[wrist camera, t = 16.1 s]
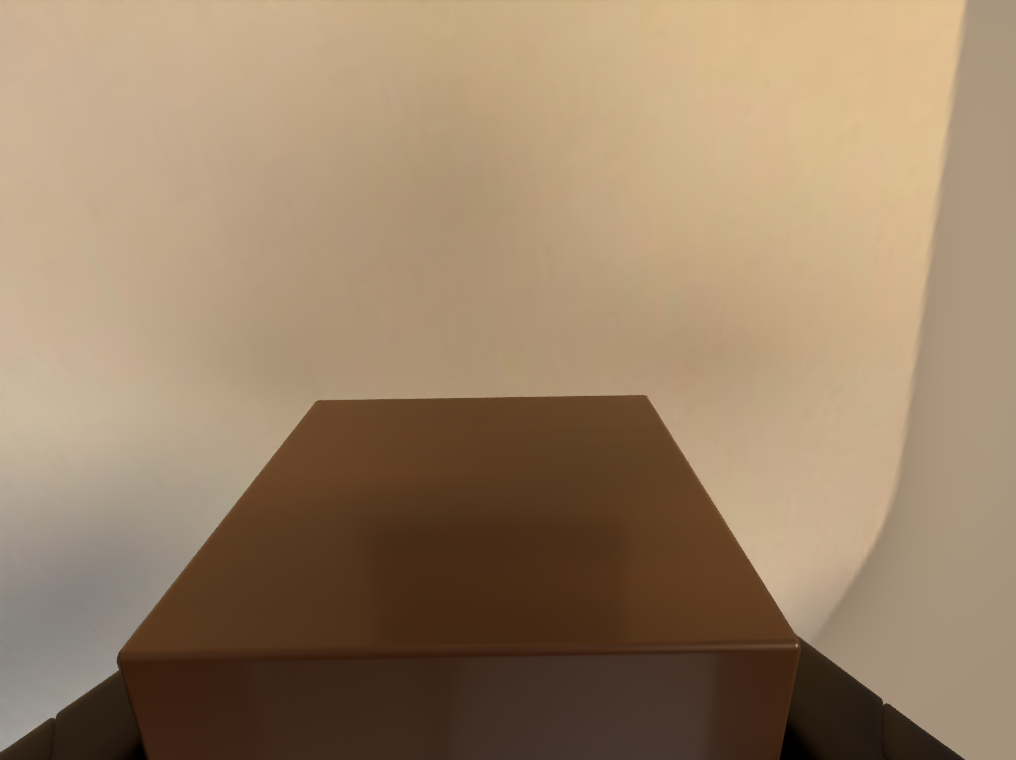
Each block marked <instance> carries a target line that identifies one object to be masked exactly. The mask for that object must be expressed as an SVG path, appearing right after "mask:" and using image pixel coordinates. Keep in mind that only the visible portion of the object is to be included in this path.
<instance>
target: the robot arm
mask: <svg viewBox="0 0 1016 760" xmlns="http://www.w3.org/2000/svg"><path fill="white" fill-rule="evenodd" d="M795 635H796V634H795ZM796 636H797V635H796ZM797 638H798V639H799V642H800V645H801V652H800V657H799V662H798V667H797V672H796V677H795V682H794V688H793V693H792V698H791V703H790V708H789V713H788V718H787V723H786V729H785V734H784V739H783V744H782V749H781V754H780V759H779V760H965V759H963V758H962V757H961V756H959V755H958V754H956V753H955V752H954V751H952V750H951V749H949V748H948V747H947V746H945V745H944V744H942V743H941V742H940V741H938V740H937V739H936V738H934V737H933V736H931V735H930V734H929V733H927V732H926V731H925V730H923V729H922V728H920V727H919V726H918V725H916V724H915V723H914V722H912V721H911V720H910V719H908V718H907V717H906V716H904V715H903V714H902V713H900V712H899V711H897V710H896V709H895V708H894V707H892V706H891V705H890V704H884V705H883V701H882V699H881V698H880V697H878V696H877V695H876V694H875V693H873V692H872V691H871V690H869V689H868V688H867V687H865V686H864V685H863V684H861V683H860V682H859V681H857V680H856V679H855V678H853V677H852V676H851V675H849V674H848V673H847V672H845V671H844V670H842V669H841V668H840V667H838V666H837V665H836V664H835V663H833V662H832V661H831V660H829V659H828V658H827V657H825V656H824V655H822V654H821V653H820V652H819V651H817V650H816V649H815V648H813V647H812V646H811V645H809V644H808V643H807V642H805V641H804V640H803V639H801V638H800V637H799V636H797ZM0 760H146V756H145V753H144V750H143V746H142V743H141V740H140V737H139V733H138V730H137V727H136V723H135V720H134V717H133V714H132V710H131V707H130V704H129V700H128V697H127V694H126V691H125V687H124V684H123V681H122V677H121V674H120V671H117V672H116V673H114V674H113V675H112V676H110V677H109V678H107V679H106V680H104V681H103V682H102V683H100V684H99V685H97V686H96V687H94V688H93V689H91V690H90V691H89V692H87V693H86V694H84V695H83V696H81V697H80V698H79V699H77V700H76V701H74V702H73V703H71V704H70V705H69V706H67V707H66V708H64V709H63V710H61V711H60V712H59V713H58V714H57V716H56V719H55V718H50V719H48V720H47V721H45V722H44V723H43V724H41V725H40V726H38V727H37V728H35V729H34V730H32V731H31V732H30V733H28V734H27V735H25V736H24V737H22V738H21V739H20V740H18V741H17V742H15V743H14V744H12V745H11V746H9V747H8V748H6V749H5V750H3V751H2V752H0Z"/></svg>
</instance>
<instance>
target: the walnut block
mask: <svg viewBox="0 0 1016 760" xmlns="http://www.w3.org/2000/svg"><path fill="white" fill-rule="evenodd" d="M800 652H801V645H800V642H799V639H798V638H797V636H796V635H795V633H794V631H793V630H792V628H791V627H790V625H789V623H788V622H787V620H786V619H785V617H784V615H783V614H782V612H781V611H780V609H779V607H778V606H777V604H776V603H775V601H774V599H773V598H772V596H771V595H770V593H769V591H768V590H767V588H766V587H765V585H764V583H763V582H762V580H761V578H760V577H759V575H758V574H757V572H756V570H755V569H754V567H753V566H752V564H751V562H750V561H749V559H748V558H747V556H746V554H745V553H744V551H743V550H742V548H741V546H740V545H739V543H738V542H737V540H736V538H735V537H734V535H733V534H732V532H731V530H730V529H729V527H728V526H727V524H726V522H725V521H724V519H723V518H722V516H721V514H720V513H719V511H718V509H717V508H716V506H715V505H714V503H713V501H712V500H711V498H710V497H709V495H708V493H707V492H706V490H705V489H704V487H703V485H702V484H701V482H700V481H699V479H698V477H697V476H696V474H695V473H694V471H693V469H692V468H691V466H690V465H689V463H688V461H687V460H686V458H685V457H684V455H683V453H682V452H681V450H680V449H679V447H678V445H677V444H676V442H675V440H674V439H673V437H672V436H671V434H670V432H669V431H668V429H667V428H666V426H665V424H664V423H663V421H662V420H661V418H660V416H659V415H658V413H657V412H656V410H655V408H654V407H653V405H652V404H651V402H650V400H649V399H648V397H647V396H645V395H625V396H563V397H501V398H439V399H377V400H319V401H316V402H315V403H314V405H313V406H312V407H311V408H310V410H309V411H308V412H307V414H306V415H305V416H304V417H303V419H302V420H301V421H300V422H299V424H298V425H297V426H296V428H295V429H294V430H293V431H292V433H291V434H290V435H289V436H288V438H287V439H286V440H285V442H284V443H283V444H282V445H281V447H280V448H279V449H278V450H277V452H276V453H275V454H274V456H273V457H272V458H271V459H270V461H269V462H268V463H267V464H266V466H265V467H264V468H263V470H262V471H261V472H260V473H259V475H258V476H257V477H256V478H255V480H254V481H253V482H252V484H251V485H250V486H249V487H248V489H247V490H246V491H245V492H244V494H243V495H242V496H241V498H240V499H239V500H238V501H237V503H236V504H235V505H234V506H233V508H232V509H231V510H230V512H229V513H228V514H227V515H226V517H225V518H224V519H223V520H222V522H221V523H220V524H219V526H218V527H217V528H216V529H215V531H214V532H213V533H212V534H211V536H210V537H209V538H208V540H207V541H206V542H205V543H204V545H203V546H202V547H201V548H200V550H199V551H198V552H197V554H196V555H195V556H194V557H193V559H192V560H191V561H190V562H189V564H188V565H187V566H186V568H185V569H184V570H183V571H182V573H181V574H180V575H179V576H178V578H177V579H176V580H175V582H174V583H173V584H172V585H171V587H170V588H169V589H168V590H167V592H166V593H165V594H164V596H163V597H162V598H161V599H160V601H159V602H158V603H157V604H156V606H155V607H154V608H153V610H152V611H151V612H150V613H149V615H148V616H147V617H146V618H145V620H144V621H143V622H142V624H141V625H140V626H139V627H138V629H137V630H136V631H135V632H134V634H133V635H132V636H131V638H130V639H129V640H128V641H127V643H126V644H125V645H124V646H123V648H122V649H121V650H120V652H119V654H118V657H117V664H118V668H119V671H120V674H121V677H122V681H123V684H124V687H125V691H126V694H127V697H128V700H129V704H130V707H131V710H132V714H133V717H134V720H135V723H136V727H137V730H138V733H139V737H140V740H141V743H142V746H143V750H144V753H145V756H146V760H779V759H780V754H781V749H782V744H783V739H784V734H785V729H786V723H787V718H788V713H789V708H790V703H791V698H792V693H793V688H794V682H795V677H796V672H797V667H798V662H799V657H800Z"/></svg>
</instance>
